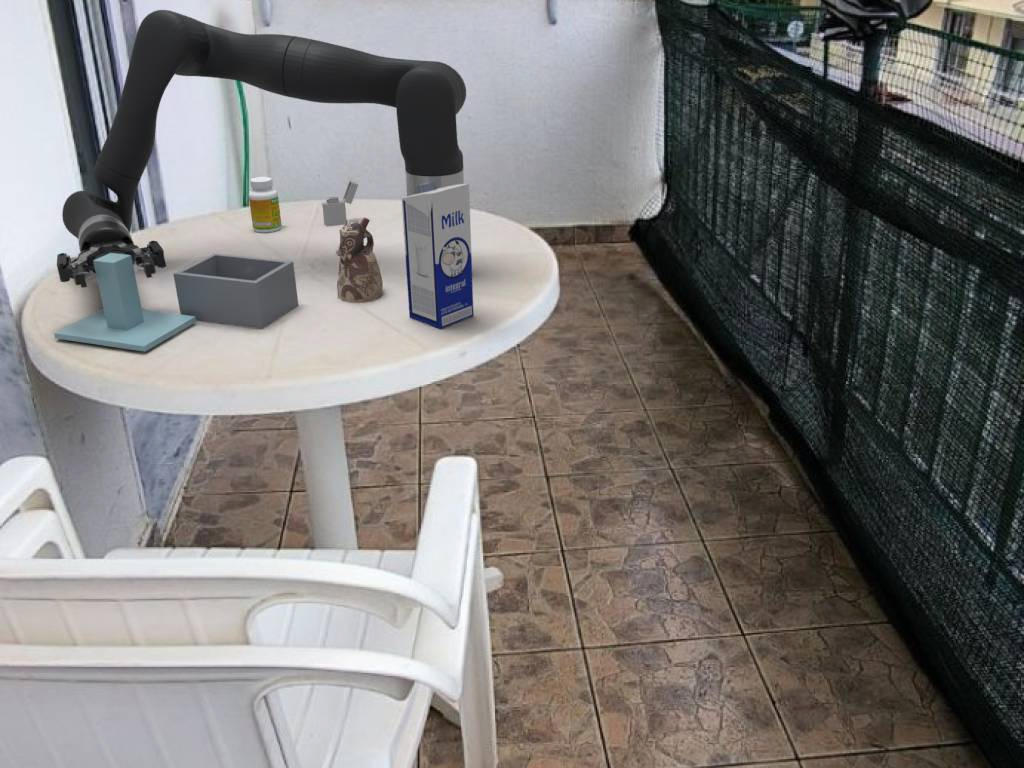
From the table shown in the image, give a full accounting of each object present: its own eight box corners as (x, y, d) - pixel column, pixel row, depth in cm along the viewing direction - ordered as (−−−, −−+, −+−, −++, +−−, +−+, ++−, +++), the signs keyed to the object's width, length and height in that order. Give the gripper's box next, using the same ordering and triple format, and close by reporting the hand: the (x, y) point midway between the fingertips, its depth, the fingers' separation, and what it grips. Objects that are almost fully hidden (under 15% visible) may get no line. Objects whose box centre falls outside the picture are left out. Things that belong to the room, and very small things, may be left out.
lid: (196, 321, 138) (184, 250, 133) (145, 351, 128) (130, 276, 123) (110, 309, 142) (96, 241, 138) (55, 338, 133) (37, 265, 128)
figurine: (329, 293, 149) (322, 219, 144) (368, 283, 153) (362, 211, 147) (351, 306, 144) (344, 230, 138) (391, 295, 148) (386, 221, 142)
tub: (298, 304, 144) (293, 261, 141) (262, 328, 136) (255, 283, 133) (220, 295, 149) (214, 253, 146) (181, 318, 140) (173, 273, 137)
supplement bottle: (278, 233, 179) (271, 182, 175) (250, 233, 179) (242, 182, 175) (284, 225, 184) (278, 175, 179) (257, 225, 184) (250, 175, 180)
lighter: (326, 226, 182) (322, 185, 179) (324, 224, 184) (319, 183, 180) (361, 221, 185) (358, 181, 182) (359, 219, 187) (355, 179, 183)
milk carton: (439, 329, 135) (432, 191, 126) (408, 318, 139) (399, 183, 130) (474, 315, 139) (470, 181, 131) (443, 305, 144) (437, 174, 135)
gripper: (49, 226, 139) (53, 257, 125) (150, 214, 144) (165, 242, 131) (60, 275, 142) (66, 310, 129) (159, 260, 147) (174, 292, 134)
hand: (116, 275), depth 130 cm, fingers open, 8 cm apart
